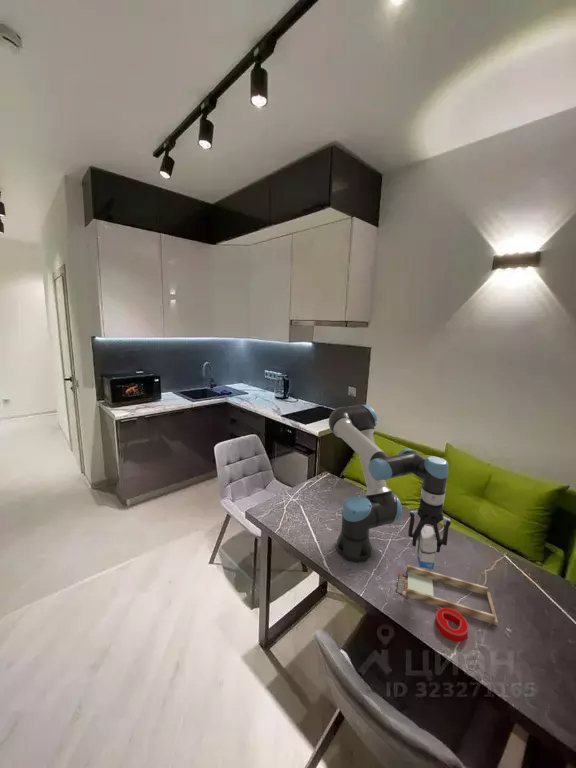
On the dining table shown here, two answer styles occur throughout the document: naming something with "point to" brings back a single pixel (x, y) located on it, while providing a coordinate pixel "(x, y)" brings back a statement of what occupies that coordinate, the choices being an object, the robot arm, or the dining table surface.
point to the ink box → (426, 547)
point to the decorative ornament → (456, 618)
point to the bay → (448, 604)
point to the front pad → (420, 584)
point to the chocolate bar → (402, 585)
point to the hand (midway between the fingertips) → (424, 555)
